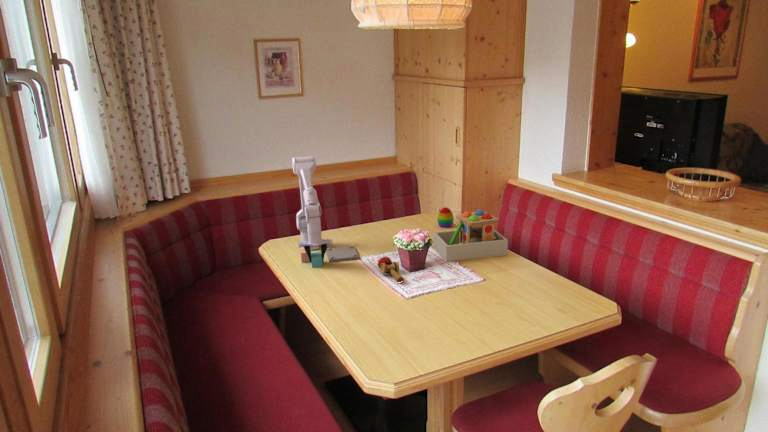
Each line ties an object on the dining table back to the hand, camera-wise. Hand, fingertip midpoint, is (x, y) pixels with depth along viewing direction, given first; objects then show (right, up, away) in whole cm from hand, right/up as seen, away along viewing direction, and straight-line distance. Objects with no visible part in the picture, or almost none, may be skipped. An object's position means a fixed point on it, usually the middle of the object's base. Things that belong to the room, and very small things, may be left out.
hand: (316, 261), depth 236 cm
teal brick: (0, -1, 0) cm, 1 cm away
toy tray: (+68, +4, +10) cm, 69 cm away
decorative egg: (+61, +14, +45) cm, 77 cm away
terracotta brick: (-5, 0, +6) cm, 8 cm away
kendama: (+32, -5, -13) cm, 35 cm away
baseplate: (+10, +2, +10) cm, 14 cm away
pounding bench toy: (+67, +3, +10) cm, 68 cm away
